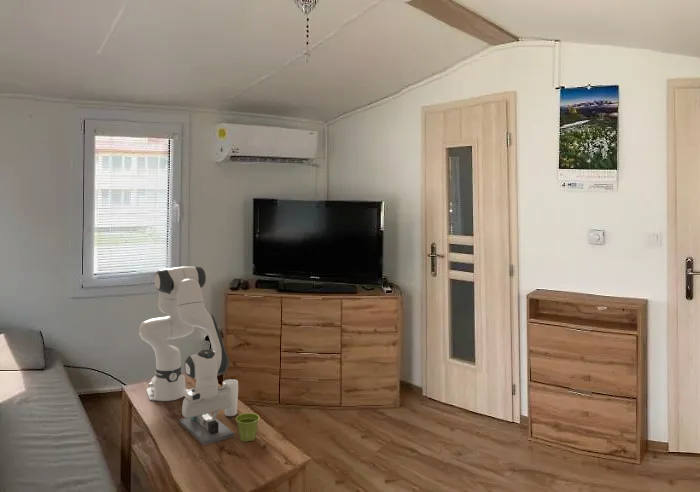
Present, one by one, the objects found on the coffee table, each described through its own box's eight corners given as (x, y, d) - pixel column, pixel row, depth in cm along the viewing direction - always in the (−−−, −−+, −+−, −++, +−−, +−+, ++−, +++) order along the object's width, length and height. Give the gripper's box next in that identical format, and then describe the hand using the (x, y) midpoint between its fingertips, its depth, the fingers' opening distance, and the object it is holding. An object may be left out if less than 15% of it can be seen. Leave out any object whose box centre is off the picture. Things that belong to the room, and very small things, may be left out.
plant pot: (264, 436, 220) (264, 415, 219) (250, 445, 211) (250, 424, 210) (245, 431, 223) (244, 411, 222) (231, 441, 215) (230, 420, 214)
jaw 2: (199, 419, 231) (199, 410, 230) (202, 419, 231) (202, 409, 231) (215, 433, 218) (214, 423, 218) (218, 432, 219) (218, 422, 218)
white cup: (234, 418, 237) (234, 384, 235) (220, 416, 238) (219, 383, 237) (241, 412, 243) (240, 379, 242) (226, 410, 245) (226, 378, 243)
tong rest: (179, 422, 231) (178, 412, 231) (208, 415, 239) (207, 405, 239) (203, 445, 211) (203, 434, 211) (234, 436, 219) (234, 425, 218)
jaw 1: (195, 420, 230) (195, 411, 229) (199, 419, 231) (199, 410, 230) (211, 434, 217) (211, 424, 217) (215, 433, 218) (214, 423, 218)
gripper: (227, 382, 231) (227, 414, 232) (180, 393, 218) (180, 426, 220) (233, 387, 226) (234, 419, 227) (186, 398, 213) (186, 431, 215)
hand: (207, 422), depth 223 cm, fingers open, 3 cm apart
